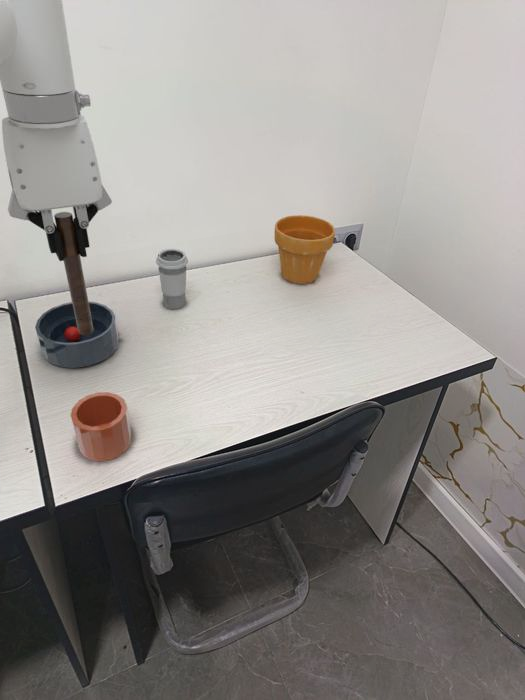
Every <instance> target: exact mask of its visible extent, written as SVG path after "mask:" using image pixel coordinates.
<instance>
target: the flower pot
mask: <svg viewBox="0 0 525 700" xmlns="http://www.w3.org/2000/svg"><path fill="white" fill-rule="evenodd" d="M335 234H336V229H335V226H334V225H333V224H332V223H331V222H329V221H327V220H325V219H323V218H320V217H316V216H311V215H303V214H301V215H300V214H297V215H288V216H285V217H281V218H280V219H278V220H277V221H276V222H275V224H274V235H273V236H274V243H275V244H276V246H277V248H278V256H279V262H280V269H281V275H282V278H283V279H284V280H286V281H288V282H290V283H293V284H298V285H306V284H307V285H308V284H311V283H313V282H315V281H316V280H317V279H318V276H319V274H320V272H321V269H322V266H323V263H324V261H325V258H326V257H327V256H326V255H327V253H328V251H329V250H331V249H332V247H333V245H334V241H335Z"/></svg>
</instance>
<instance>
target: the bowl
mask: <svg viewBox="0 0 525 700" xmlns="http://www.w3.org/2000/svg"><path fill="white" fill-rule="evenodd" d="M88 302H89V307H90V313H91V318H92V324H93V329H94V330H93V332H92V333H90V334H87V335H82V334H81V337H80V339H79V340H77V341H75V342H71V341H68V340H67V339H66V338H65V331H66V329H67V328H69V327H72V326H74V327H77V323H76V318H75V314H74V309H73V304H72V301H70V302H66V303H61V304H58V305H55V306H53V307H51V308H50V309H48V310H47V311H44V312H43V313H42V314H41V316H40V317H39V318H38V319H37V320H36V323H35V328H34V329H35V332H36V336H37V339H38V343H39V347H40V350H41V353H42V357H43V358H44V359H45V360H47V362H48V363H50V364H53V365H55V366H57V367H63V368H68V369H69V368H71V369H72V368H85V367H88V366H93V365H96V364H98V363H100V362H103V361H104V360H107V359H108V358H109V357H111V355H112V354H113V353H115V351H116V350H117V348H118V346H119V339H120V338H119V332H118V325H117V318H116V314H115V313H114V311H113V310H112V309H111V308H109V307H108V306H107V305H105V304H102V303H100V302H97V301H89V300H88Z"/></svg>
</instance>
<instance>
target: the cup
mask: <svg viewBox="0 0 525 700" xmlns="http://www.w3.org/2000/svg"><path fill="white" fill-rule="evenodd" d="M188 262H189V259H188V257H187V255H186V253H185V252H184V251H183V250H181V249H178V248H166V249H163V250H160V251H159V252H158V254H157V257H156V259H155V263H156V265H157V266H158V274H159V281H160V282H159V283H160V288H161V294H162V299H163V305H164V307H165V308H167V309H170V310H178V309H181V308H183V307H185V305H186V291H187V265H188V264H189V263H188Z"/></svg>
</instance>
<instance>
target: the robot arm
mask: <svg viewBox="0 0 525 700" xmlns="http://www.w3.org/2000/svg"><path fill="white" fill-rule="evenodd" d="M0 85H1V90H2V95H3V100H4V103H5V104H4V105H5V108H6V113H7V117H6V116H5V117H4V118H2V119H1V131H2V133H1V134H2V142H3V149H4V155H5V162H6V166H7V173H8V177H9V181H10V185H11V188H12V190H11V194H10V198H9V202H8V207H7V212H8V214H9V217H11V218H13V219H19V220H23V221H29V222H30V223H32V224H34V225H35V226H37V227H38V228H40V229H42V230H43V231H44V232H45V234H46V239H47V244H48V248H49V251H50V253H51V254H55V255H56V257H57V259H58V261H59V262H64V259H65V256H64V251H63V246H62V241H61V236H60V233H59V231H58V230H57V227H56V222H55V221H54V216H53V211H52V210H57V209H64V208H72V212H73V214H74V216H73V221H74V226H75V232H76V238H77V243H78V249H79V254H80V257H81V258H87V257H88V256H87V254H88V253H87V249H88V248H90V241H89V235H88V228H89V226H90V222H91V221H92V220H93V219H94V217H95V216H96V215H97V214H98V212H99V211H102V210H103V209H105V208H107V207H108V206H110V205H111V204H112V202H113V201H112V198H111V196H110V195H109V194H108V192H107V190H106V189H105V187H104V185H103V183H102V177H101V172H100V168H99V163H98V159H97V154H96V150H95V146H94V142H93V139H92V136H91V135H92V134H91V132H90V129H89V126H88V123H87V120H86V118H85V116H84V115H82V114H81V111H82V109H85V107H91V97H90V95H89V93H82V92H79V91H78V90H77V89H76V85H75V77H74V71H73V65H72V58H71V50H70V44H69V37H68V31H67V24H66V18H65V11H64V4H63V0H0Z"/></svg>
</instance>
